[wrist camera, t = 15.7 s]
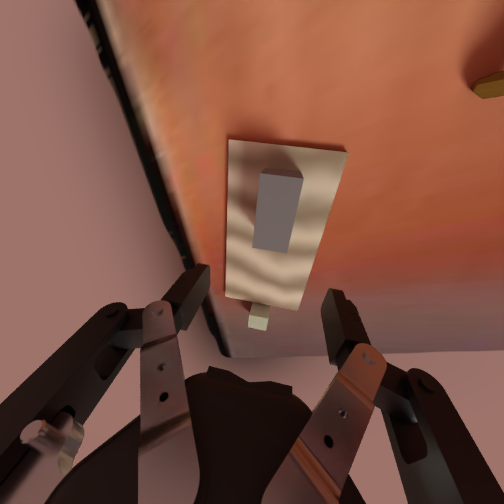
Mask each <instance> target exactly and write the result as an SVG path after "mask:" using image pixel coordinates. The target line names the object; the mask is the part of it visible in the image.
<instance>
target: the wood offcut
mask: <svg viewBox="0 0 504 504" xmlns="http://www.w3.org/2000/svg"><path fill="white" fill-rule="evenodd" d="M269 310H270V305H266V304H261V303H256V302H252V306H251V310H250V315H249V323H248V327H250V328H255V329H260V330H264V331H266V328H267V323H268V318H269Z"/></svg>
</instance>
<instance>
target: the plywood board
mask: <svg viewBox="0 0 504 504" xmlns="http://www.w3.org/2000/svg"><path fill="white" fill-rule="evenodd" d="M348 154H349V152H341V151H331V150H322V149H313V148H304V147H295V146H286V145H277V144H267V143H258V142H249V141H240V140H231V139H229V155H228V201H227V247H226V293H225V296H226V297H231V298H236V299H241V300H246V301H251V302H256V303H261V304H266V305H271V306H276V307H281V308H286V309H291V310H296V311H298V308H299V305H300V302H301V299H302V296H303V292H304V289H305V286H306V283H307V280H308V277H309V274H310V271H311V268H312V265H313V262H314V259H315V256H316V252H317V249H318V246H319V243H320V240H321V237H322V234H323V231H324V228H325V225H326V222H327V219H328V216H329V212H330V209H331V206H332V203H333V200H334V197H335V194H336V191H337V188H338V185H339V182H340V179H341V175H342V172H343V169H344V166H345V163H346V160H347V157H348ZM266 167H267V168H275V169H283V170H291V171H300V172H301V173H302V175H303V178H304V180H303V185H302V189H301V194H300V198H299V202H298V207H297V211H296V216H295V220H294V225H293V229H292V234H291V238H290V242H289V247H288V251H287V254H286V253H280V252H274V251H268V250H262V249H256V248H252V245H253V235H254V226H255V216H256V207H257V198H258V188H259V179H260V173H261V172H262V171H263V170H264V169H265V168H266Z"/></svg>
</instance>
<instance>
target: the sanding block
mask: <svg viewBox="0 0 504 504" xmlns="http://www.w3.org/2000/svg"><path fill="white" fill-rule="evenodd" d="M303 180H304V178H303V175H302V173H301V172H300V171H291V170H283V169H275V168H267V167H266V168H265V169H264V170H263V171H262V172H261V173H260V179H259V188H258V198H257V207H256V216H255V226H254V235H253V245H252V248H256V249H262V250H268V251H274V252H280V253H286V254H287V251H288V247H289V242H290V238H291V234H292V229H293V225H294V220H295V216H296V211H297V207H298V202H299V198H300V194H301V189H302V185H303Z"/></svg>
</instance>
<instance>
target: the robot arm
mask: <svg viewBox="0 0 504 504" xmlns="http://www.w3.org/2000/svg"><path fill="white" fill-rule="evenodd" d="M209 288H210V266H209V265H206V264H200V263H198V264H197V265H196V266H195V268H194V269H193V270H192V269H188V270H187V271H185V272H184V273H182V275H181V276H180V277H179V279H177V281H176V282H175V284H173V285H172V287H171V288H170V289H169V290H168V292H167V293H166V294H165V295H164V296H163V298H162V299H161V300H159V301H155V302H152V303H150V304H149V305H147V306H146V307H145V308H141V309H128V308H127V306H126V304H124V303H121V302H116V303H111V304H108V305H106V306H105V307H103V308H101V309H100V310H99V311H98V312H97V313H95V314H94V315H93V316H92V317H91V318H90V319H89V320H88V321H87V322H86V323H85V324H84V325H83V326H82V327H81V328H80V329H79V330H78V331H77V332H76V333H75V334H74V335H72V336H71V337H70V338H69V339H68V340H67V341H66V342H65V343H64V344H63V345H62V346H61V347H60V348H59V349H58V350H57V351H56V352H55V353H53V354H52V356H51V357H49V358H48V359H47V360H46V361H45V362H44V363H43V364H42V365H41V366H40V367H39V368H38V369H37V370H36V371H35V372H34V373H33V374H32V375H30V376H29V377H28V378H27V379H26V380H25V381H24V382H23V383H22V384H21V385H20V386H19V387H18V388H17V389H16V390H15V391H14V392H13V393H11V394H10V395H9V396H8V398H6V399H5V400H4V401H3V402H2V403H1V404H0V504H366V503H365V501H364V500H363V498H362V496H361V494H360V493H359V491H358V489H357V487H356V486H355V484H354V482H353V481H352V479H351V477H350V475H349V474H348V473H349V471H350V468H351V466H352V463H353V461H354V458H355V456H356V453H357V451H358V448H359V445H360V443H361V440H362V438H363V435H364V433H365V431H366V428H367V425H368V423H369V420H370V418H371V415H372V413H373V410H374V407H375V406H376V407H378V408H380V409H381V412H382V415H383V418H384V422H385V426H386V429H387V432H388V436H389V439H390V442H391V446H392V449H393V453H394V456H395V460H396V463H397V467H398V470H399V473H400V477H401V481H402V484H403V487H404V491H405V494H406V498H407V501H408V504H504V493H503V491H502V489H501V487H500V485H499V484H498V482H497V480H496V478H495V477H494V475H493V473H492V472H491V470H490V468H489V466H488V465H487V463H486V461H485V459H484V458H483V456H482V454H481V452H480V451H479V449H478V447H477V446H476V444H475V442H474V440H473V439H472V437H471V435H470V433H469V431H468V430H467V428H466V426H465V424H464V423H463V421H462V419H461V418H460V416H459V414H458V412H457V410H456V409H455V407H454V405H453V404H452V402H451V400H450V398H449V397H448V395H447V393H446V392H445V390H444V388H443V387H442V385H441V384H440V383H439V382H438V381H437V380H436V379H435V378H434V377H432V376H431V375H430V374H428V373H427V372H425V371H423V370H420V369H417V368H412V369H410V370H409V371H407V372H405V371H403V370H402V369H399V368H397V367H395V366H393V365H391V364H389V363H387V362H386V360H385V358H384V357H383V355H382V354H381V353H380V352H379V351H378V350H377V349H376V348H374V347H373V346H371V343H370V341H369V338H368V336H367V333H366V331H365V328H364V326H363V323H362V322H361V318H360V316H359V313H358V311H357V308H356V306H355V305H354V304H353V303H352V302H351V301H350V300H346V298H345V295H344V292H343V291H342V290H337V289H332V288H329V289H328V292H327V294H326V296H325V299H324V301H323V303H322V306H321V317H322V323H323V328H324V334H325V339H326V345H327V351H328V356H329V362H330V364H331V365H335V366H337V367H338V373H337V374H336V376H335V377H334V379H333V380H332V382H331V383H330V385H329V387H328V388H327V390H326V391H325V393H324V395H323V396H322V398H321V399H320V401H319V402H318V404H317V405H316V407H315V408H314V410H313V411H311V410H310V409H309V407H308V406H307V405H306V404H305V403H304V402H303V401H302V400H301V399H299V398H298V397H297V396H295V395H293V394H292V386H288V385H284V384H280V383H276V382H272V381H266V382H247V381H245V380H244V379H242V378H240V377H238V376H237V375H235V374H233V373H232V372H230V371H227V370H223V369H219V368H215V367H211V366H209V368H208V371H207V372H205V373H200V374H196V375H193V376H191V377H189V378H187V379H185V376H184V371H183V366H182V360H181V355H180V349H179V344H178V339H177V334H178V332H179V331H180V329H181V330H185V331H186V330H187V329H188V327H189V325H190V323H191V321H192V319H193V318H194V316H195V314H196V312H197V310H198V309H199V307H200V305H201V303H202V301H203V300H204V298H205V296H206V294H207V292H208V290H209ZM135 348H140V395H141V396H140V405H141V406H140V411H141V412H140V413H141V414H140V415H139V416H137V417H136V418H135V419H134V420H132V421H131V422H130V423H128V424H127V425H126V426H125V427H123V428H122V429H121V430H120V431H118V432H117V433H116V434H114V435H113V436H112V437H111V438H109V439H108V440H107V441H106V442H104V443H103V444H102V445H101V446H99V447H98V448H97V449H95V450H94V451H93V452H92V453H90V454H89V455H88V456H87V457H85V458H84V459H83V460H82V461H80V462H79V463H78V464H77V465H76V466H74V467H73V468H72V465H73V461H74V458H75V456H76V454H77V452H78V449H79V448H80V446H81V444H82V441H83V438H84V428H83V424H84V423H85V421H86V420H87V418H88V417H89V415H90V414H91V413H92V411H93V409H94V408H95V407H96V405H97V404H98V402H99V401H100V399H101V398H102V396H103V395H104V393H105V392H106V391H107V389H108V388H109V386H110V385H111V383H112V382H113V380H114V379H115V377H116V376H117V374H118V373H119V371H120V370H121V369H122V367H123V366H124V364H125V363H126V361H127V360H128V358H129V357H130V355H131V354H132V352H133V351H134V350H135Z"/></svg>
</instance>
